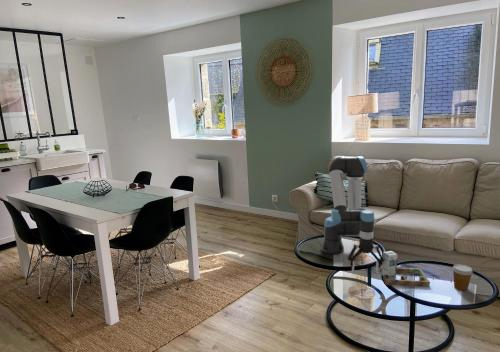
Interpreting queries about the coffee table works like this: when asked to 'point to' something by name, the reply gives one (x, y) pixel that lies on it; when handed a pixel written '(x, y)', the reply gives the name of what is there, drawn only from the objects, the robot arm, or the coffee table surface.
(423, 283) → the wooden tray
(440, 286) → the coffee table surface
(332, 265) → the coffee table surface
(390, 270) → the syrup box
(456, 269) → the disposable coffee cup
